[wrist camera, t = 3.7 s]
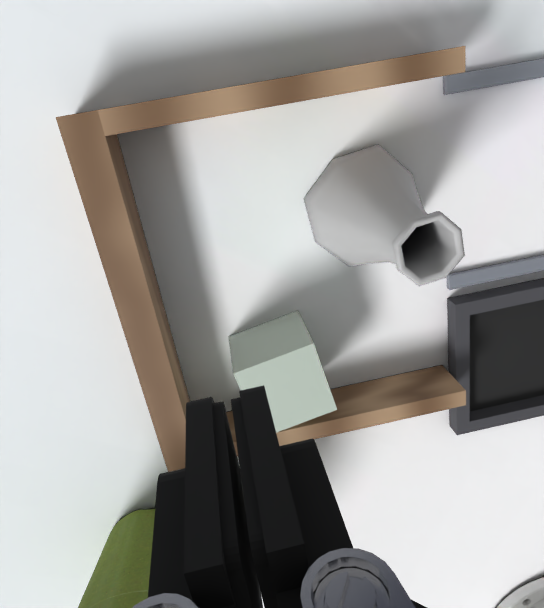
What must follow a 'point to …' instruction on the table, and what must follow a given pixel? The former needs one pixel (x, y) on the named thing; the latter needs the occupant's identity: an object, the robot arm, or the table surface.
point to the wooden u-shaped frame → (140, 273)
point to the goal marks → (478, 81)
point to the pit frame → (497, 355)
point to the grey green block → (283, 369)
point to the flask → (381, 218)
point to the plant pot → (123, 564)
